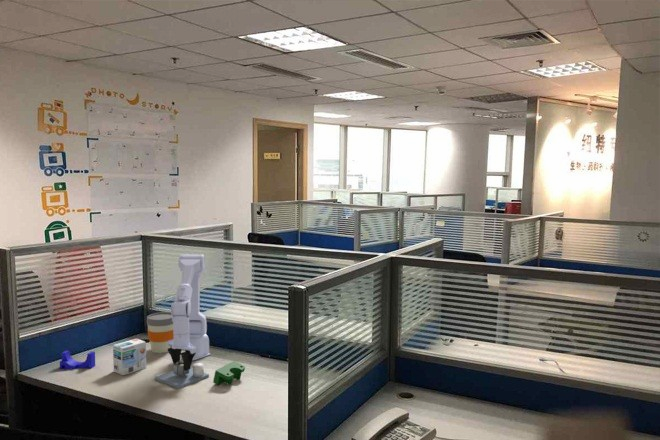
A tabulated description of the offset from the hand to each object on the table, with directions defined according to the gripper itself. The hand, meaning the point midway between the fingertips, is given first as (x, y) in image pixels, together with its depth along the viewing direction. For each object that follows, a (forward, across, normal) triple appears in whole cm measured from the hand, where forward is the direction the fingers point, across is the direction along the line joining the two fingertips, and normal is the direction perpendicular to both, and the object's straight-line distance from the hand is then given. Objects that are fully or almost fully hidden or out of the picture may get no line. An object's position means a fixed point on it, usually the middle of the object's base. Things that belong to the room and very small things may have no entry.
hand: (181, 367), depth 196 cm
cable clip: (+4, -42, -18) cm, 46 cm away
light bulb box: (+4, -23, -7) cm, 24 cm away
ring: (+2, 0, 0) cm, 2 cm away
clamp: (+4, +16, +9) cm, 19 cm away
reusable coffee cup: (+4, -33, +15) cm, 36 cm away
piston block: (+4, 0, 0) cm, 4 cm away
